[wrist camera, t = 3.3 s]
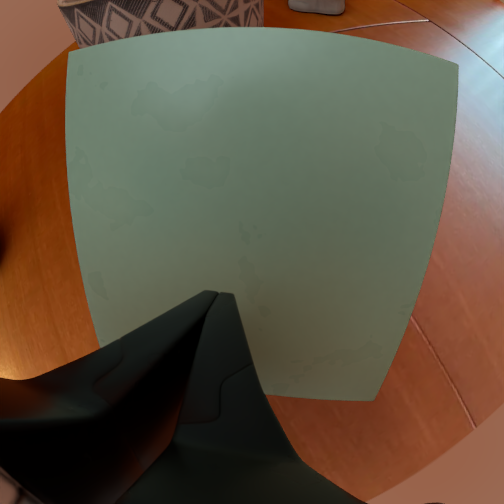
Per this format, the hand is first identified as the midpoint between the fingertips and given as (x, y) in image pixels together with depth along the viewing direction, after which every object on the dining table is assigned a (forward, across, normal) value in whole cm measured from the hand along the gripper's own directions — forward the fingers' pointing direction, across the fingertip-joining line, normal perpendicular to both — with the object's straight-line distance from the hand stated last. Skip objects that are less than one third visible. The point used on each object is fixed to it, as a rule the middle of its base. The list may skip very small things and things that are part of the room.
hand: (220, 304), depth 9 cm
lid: (+3, 0, -1) cm, 3 cm away
